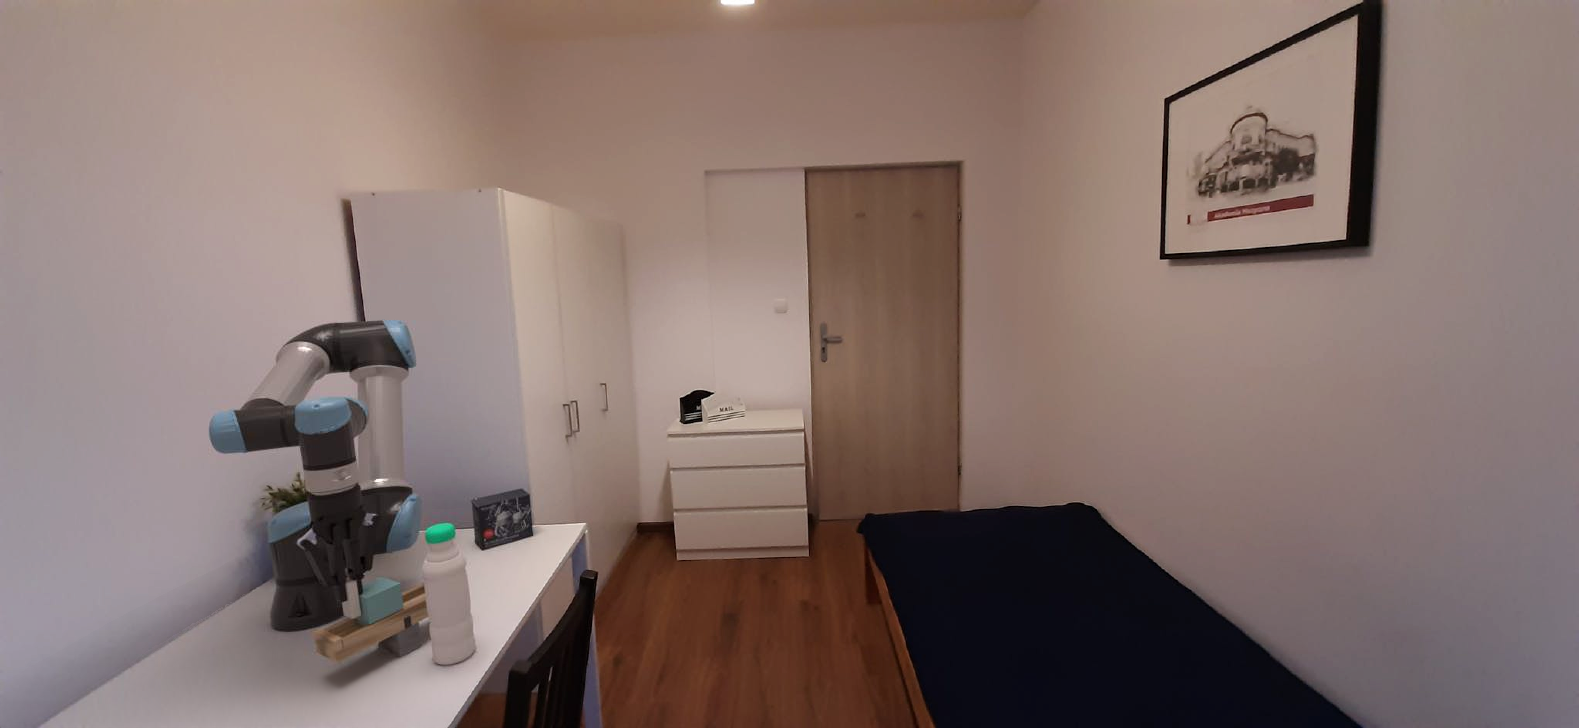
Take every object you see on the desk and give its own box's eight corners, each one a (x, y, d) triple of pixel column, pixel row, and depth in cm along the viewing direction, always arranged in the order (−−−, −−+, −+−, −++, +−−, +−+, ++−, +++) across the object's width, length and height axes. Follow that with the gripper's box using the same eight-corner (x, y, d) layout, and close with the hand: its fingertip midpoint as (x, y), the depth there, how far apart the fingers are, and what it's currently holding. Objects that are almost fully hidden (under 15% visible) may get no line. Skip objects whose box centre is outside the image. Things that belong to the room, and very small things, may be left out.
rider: (352, 624, 115) (347, 591, 114) (385, 608, 121) (381, 576, 120) (370, 632, 112) (366, 598, 112) (404, 615, 118) (400, 583, 117)
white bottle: (465, 639, 122) (451, 516, 118) (483, 652, 118) (468, 524, 114) (426, 657, 117) (410, 528, 113) (443, 671, 112) (426, 538, 109)
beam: (319, 678, 112) (310, 617, 110) (448, 612, 132) (441, 560, 131) (342, 690, 108) (332, 627, 106) (470, 620, 129) (463, 567, 127)
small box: (481, 551, 161) (476, 506, 160) (474, 543, 167) (469, 499, 165) (534, 536, 170) (530, 493, 168) (525, 529, 175) (521, 487, 173)
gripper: (301, 504, 102) (322, 639, 105) (385, 479, 113) (401, 602, 116) (278, 497, 105) (299, 628, 109) (362, 473, 116) (378, 593, 120)
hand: (352, 615), depth 113 cm, fingers closed
